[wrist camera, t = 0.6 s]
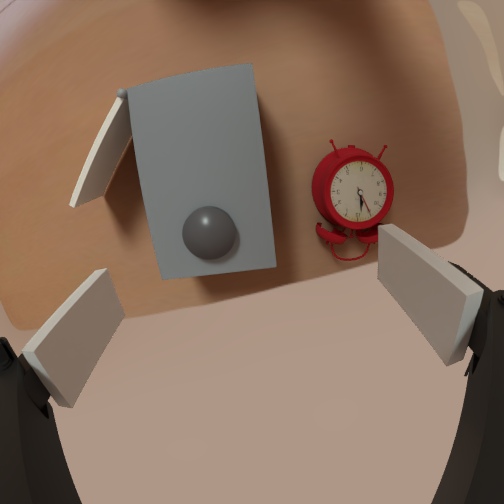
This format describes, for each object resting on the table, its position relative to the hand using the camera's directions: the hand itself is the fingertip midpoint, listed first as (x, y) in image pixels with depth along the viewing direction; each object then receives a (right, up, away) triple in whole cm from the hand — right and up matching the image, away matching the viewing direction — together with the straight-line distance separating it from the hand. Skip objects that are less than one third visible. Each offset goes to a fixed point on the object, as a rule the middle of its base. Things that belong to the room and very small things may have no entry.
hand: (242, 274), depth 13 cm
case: (-4, +11, +21) cm, 24 cm away
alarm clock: (+13, +8, +23) cm, 28 cm away
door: (-16, +15, +19) cm, 29 cm away
